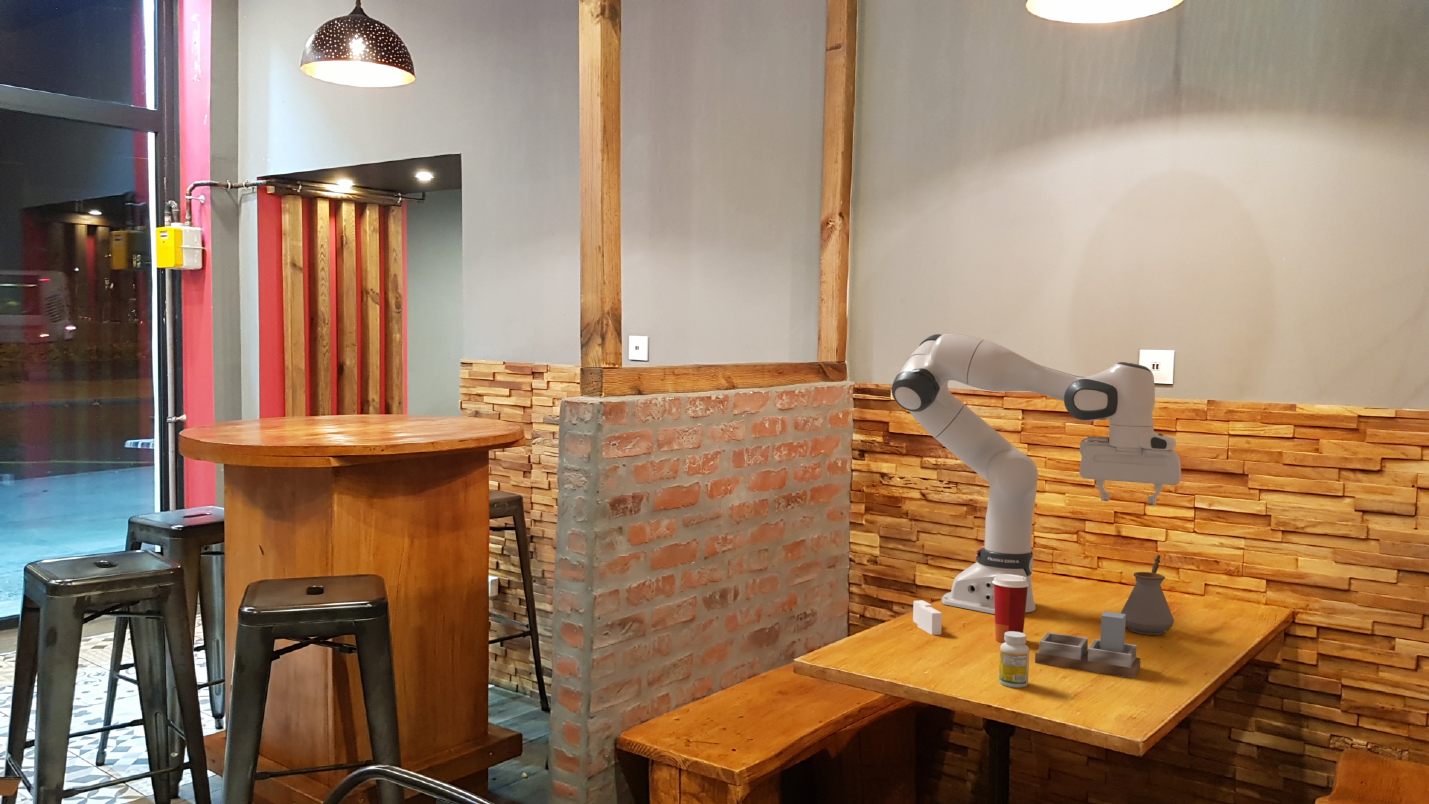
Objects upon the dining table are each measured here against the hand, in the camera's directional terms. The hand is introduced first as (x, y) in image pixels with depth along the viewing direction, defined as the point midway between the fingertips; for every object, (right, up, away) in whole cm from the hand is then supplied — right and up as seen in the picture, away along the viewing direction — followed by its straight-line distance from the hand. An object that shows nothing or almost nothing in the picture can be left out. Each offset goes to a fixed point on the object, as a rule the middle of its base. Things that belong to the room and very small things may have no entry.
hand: (1128, 502), depth 225 cm
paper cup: (-25, -31, +4) cm, 40 cm away
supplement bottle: (-32, -32, -25) cm, 52 cm away
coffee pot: (+12, -31, +19) cm, 38 cm away
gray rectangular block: (-9, -30, -15) cm, 35 cm away
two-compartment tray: (-13, -32, -13) cm, 37 cm away
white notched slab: (-40, -30, +14) cm, 52 cm away
